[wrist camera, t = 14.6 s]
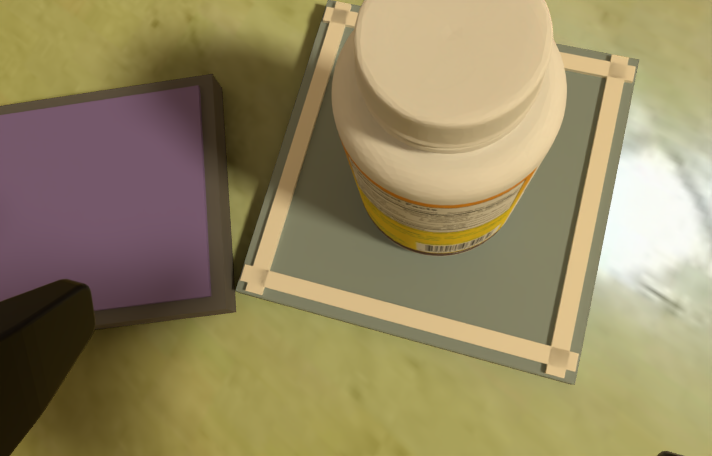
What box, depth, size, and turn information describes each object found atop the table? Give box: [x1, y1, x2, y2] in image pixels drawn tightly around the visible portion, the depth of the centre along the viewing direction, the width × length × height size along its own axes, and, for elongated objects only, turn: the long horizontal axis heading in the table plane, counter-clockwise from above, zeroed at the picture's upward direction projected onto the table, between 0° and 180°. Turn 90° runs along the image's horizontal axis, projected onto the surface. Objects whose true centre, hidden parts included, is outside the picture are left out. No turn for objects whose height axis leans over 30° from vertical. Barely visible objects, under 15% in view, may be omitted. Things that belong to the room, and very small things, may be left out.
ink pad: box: [0, 74, 236, 330], centre depth 23 cm, size 9×9×1 cm
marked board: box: [235, 0, 639, 385], centre depth 22 cm, size 12×12×1 cm
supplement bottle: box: [332, 0, 567, 256], centre depth 17 cm, size 6×6×10 cm
